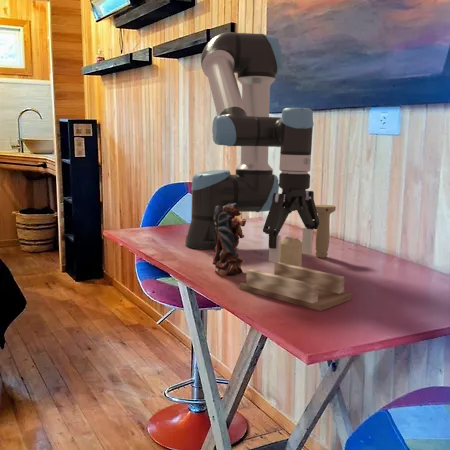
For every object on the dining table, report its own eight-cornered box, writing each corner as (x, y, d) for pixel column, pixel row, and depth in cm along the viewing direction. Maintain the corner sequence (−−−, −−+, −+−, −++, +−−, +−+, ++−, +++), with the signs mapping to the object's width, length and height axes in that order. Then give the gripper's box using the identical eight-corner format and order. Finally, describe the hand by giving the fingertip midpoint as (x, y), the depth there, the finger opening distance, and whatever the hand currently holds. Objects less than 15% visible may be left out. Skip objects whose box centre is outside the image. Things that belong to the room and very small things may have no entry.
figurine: (258, 269, 147) (256, 200, 144) (246, 278, 138) (244, 205, 136) (220, 267, 151) (217, 200, 148) (206, 275, 143) (203, 204, 140)
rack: (239, 288, 129) (240, 268, 129) (271, 279, 138) (272, 260, 137) (320, 311, 115) (321, 288, 114) (351, 299, 123) (352, 278, 123)
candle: (304, 275, 143) (306, 236, 141) (295, 280, 138) (297, 240, 136) (284, 272, 145) (286, 234, 144) (275, 276, 141) (276, 237, 139)
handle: (334, 258, 163) (338, 207, 160) (313, 259, 162) (316, 207, 159) (329, 255, 167) (332, 204, 165) (308, 255, 166) (310, 204, 164)
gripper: (275, 175, 126) (271, 267, 129) (335, 171, 144) (331, 253, 147) (249, 173, 131) (246, 262, 134) (311, 170, 149) (307, 248, 152)
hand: (291, 257), depth 141 cm, fingers open, 13 cm apart
